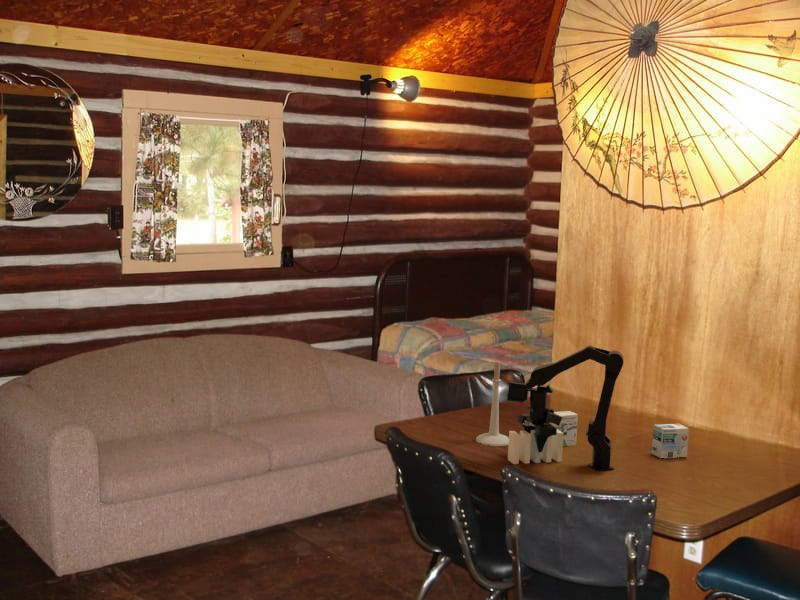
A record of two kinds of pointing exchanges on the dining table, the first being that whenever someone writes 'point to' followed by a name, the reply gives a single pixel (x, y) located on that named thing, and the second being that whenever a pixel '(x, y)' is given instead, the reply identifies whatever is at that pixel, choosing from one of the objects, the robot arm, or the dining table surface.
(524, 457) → the domino
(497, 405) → the candlestick
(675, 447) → the light bulb box
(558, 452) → the domino
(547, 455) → the domino
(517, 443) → the domino
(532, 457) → the domino
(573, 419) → the ink box
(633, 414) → the dining table surface
